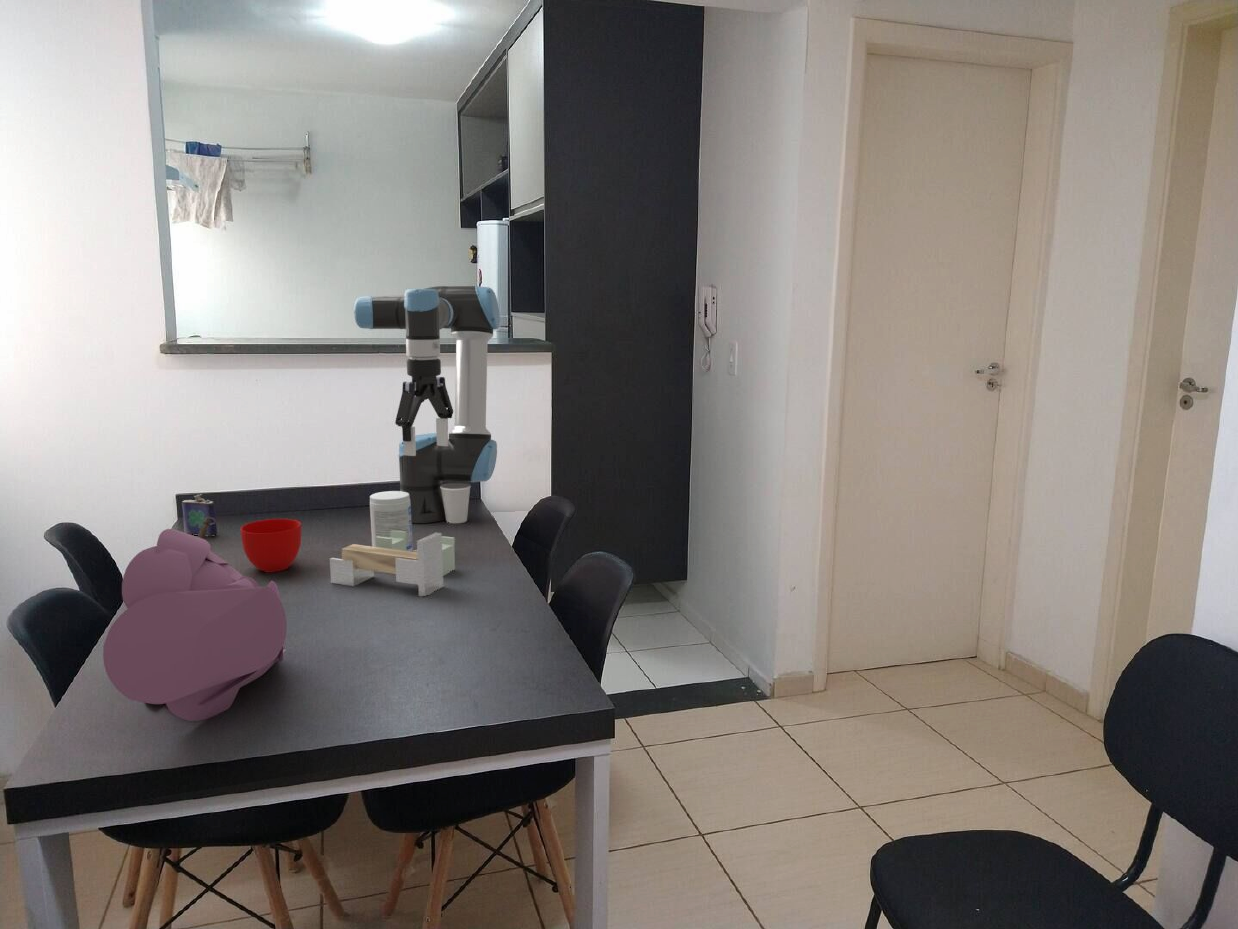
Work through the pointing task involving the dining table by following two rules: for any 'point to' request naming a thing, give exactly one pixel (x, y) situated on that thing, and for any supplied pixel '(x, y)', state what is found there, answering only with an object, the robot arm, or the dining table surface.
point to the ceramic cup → (271, 543)
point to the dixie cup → (455, 501)
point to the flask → (198, 515)
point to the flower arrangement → (191, 629)
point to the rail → (375, 557)
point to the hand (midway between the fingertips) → (426, 450)
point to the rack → (399, 543)
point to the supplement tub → (391, 515)
